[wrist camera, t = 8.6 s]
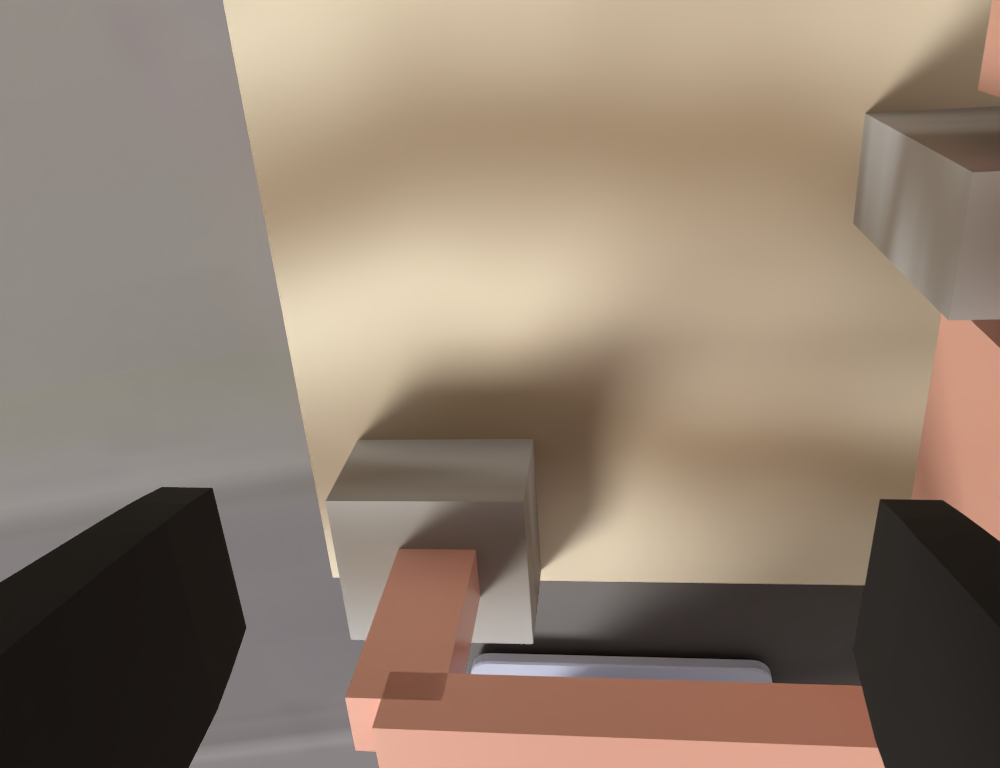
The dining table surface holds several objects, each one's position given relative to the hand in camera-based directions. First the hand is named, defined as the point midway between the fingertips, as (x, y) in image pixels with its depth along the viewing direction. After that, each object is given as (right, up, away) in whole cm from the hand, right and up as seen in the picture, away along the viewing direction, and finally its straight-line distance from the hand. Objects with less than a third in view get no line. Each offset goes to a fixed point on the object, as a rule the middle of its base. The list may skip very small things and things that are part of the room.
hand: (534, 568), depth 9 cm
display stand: (+3, +7, +8) cm, 11 cm away
